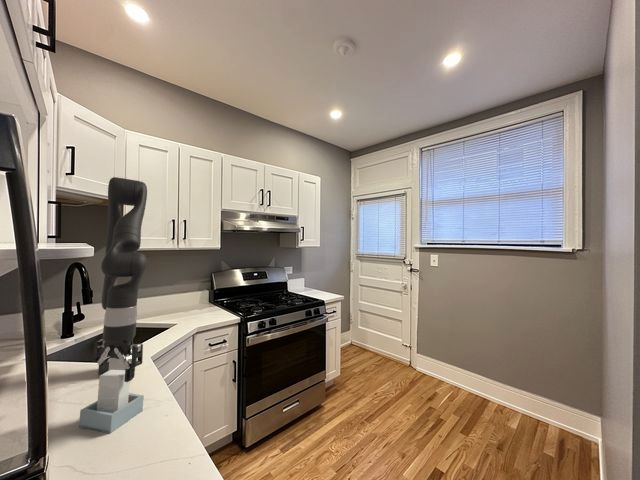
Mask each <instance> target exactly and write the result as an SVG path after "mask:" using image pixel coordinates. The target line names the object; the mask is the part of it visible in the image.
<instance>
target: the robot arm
mask: <svg viewBox="0 0 640 480" xmlns="http://www.w3.org/2000/svg"><path fill="white" fill-rule="evenodd" d="M146 184H147V183H145V182H143V181H140V180H136V179H128V178H124V177H118V176H117V177H114V176H113V177H111V178H110V179H109V181H108V186H107V229H106V231H107V232H106V239H105V255H104V257H103V259H102V261H101V262H102V263H101V265H100V266H101V267H100V268H101V272H102V274H104V278H103V279H104V280H103V285H102V286H103V287H102V293H101V308H102V309H103V310H105V313H104V318H103V320H104V321H103V330H102V332H103V333H102V338H101V339H98V340H95V341H94V348H93V353H92V362H93V363H95V362H96V363H97V365H98V369H97V370H98V371H97V374H98V377H99V376H100V375H102V374H104V373H106V372H108V371H109V370H125V379H124V381H125V382H129V381H130V382H131V381H132V380H134V378H135V375H136V374H135V372H136V367H138V366H141V365H143V352H144V350H143V349H144V344H143V343H137V344H136V343H134V341H133V340H134V338H135V336H136V333H137V331H136V330H137V320H138V319H137V318H138V310H137V309H138V308H137V304H138V295H139V294H138V293H139V288H140V285H141V281H142V279H143V276H144V274H145V273H146V270H147V266H148V258H147V257H146V255H145V254H144V253H139V252H137V251H138V250H139V249H140V247H141V243H142V242H141V240H142V239H141V238H142V225H143V219H144V216H145V210H146V204H147V200H148V199H147V198H148V187H147V185H146ZM121 205H122V206H131V207H133V208H131V210H129V211H128V212H126V213H125V214H124V215H123V214H122V212H121V208H120V206H121ZM125 277H126V278H129V277H131V278H130V280H128V281H127V282H125V283H121V284H120V283H119V284H116V285H115V283H116V281H117V280H118V279H119V278H125Z"/></svg>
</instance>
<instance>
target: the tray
mask: <svg viewBox="0 0 640 480" xmlns="http://www.w3.org/2000/svg"><path fill="white" fill-rule="evenodd" d="M97 401H98V400H96V401H94V402H92V403H91V404H89V405H87V406H85V407H83V408H82V409H80V410H79V422H78V428H80V429H84V430H85V429H86V430H92V431H97V432H102V433H107V434H112V433H113V432H114V431H116V430H117V429H119V428H121V427H122V426H123V425H124V424H126V423H128V422H129V421H130V420H132V419H134V418H135V417H136V416H138V415H139V414H140V413H142V412H143V411H144V409H143V407H144V395H143V394H142V395H141V394H136V393H130V392H129V397H128V404H126V405H125V406H123V407H122V408H120V409H118V410H117V411H115V412H114V413H108V412H102V411H97ZM137 414H138V415H137ZM134 416H135V417H134ZM131 418H132V419H131Z"/></svg>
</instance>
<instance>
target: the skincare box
mask: <svg viewBox="0 0 640 480" xmlns="http://www.w3.org/2000/svg"><path fill="white" fill-rule="evenodd" d="M98 378H99V379H98V390H97V400H96V401H97V411H102V412H108V413H114V412H115V411H117V410H118V409H120V408H122V407H123V406H125V405H126V404H128V397H129V393H130V383H131V381H129V382H125V381H124V379H125V370H109V371H108V372H106V373H104V374H102V375H100V376H99V375H98Z"/></svg>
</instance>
